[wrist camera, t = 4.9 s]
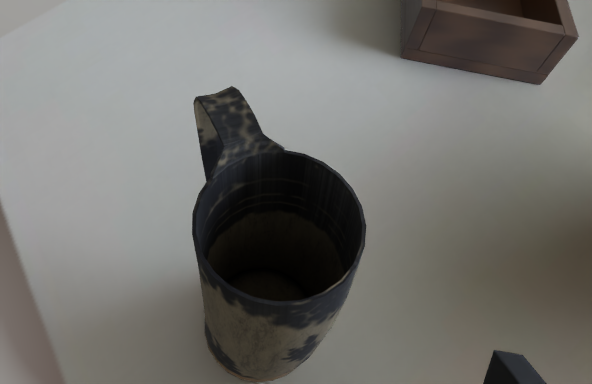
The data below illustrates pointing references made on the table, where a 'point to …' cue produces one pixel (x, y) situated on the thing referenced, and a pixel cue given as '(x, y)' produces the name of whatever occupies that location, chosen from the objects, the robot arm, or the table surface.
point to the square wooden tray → (489, 35)
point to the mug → (268, 243)
